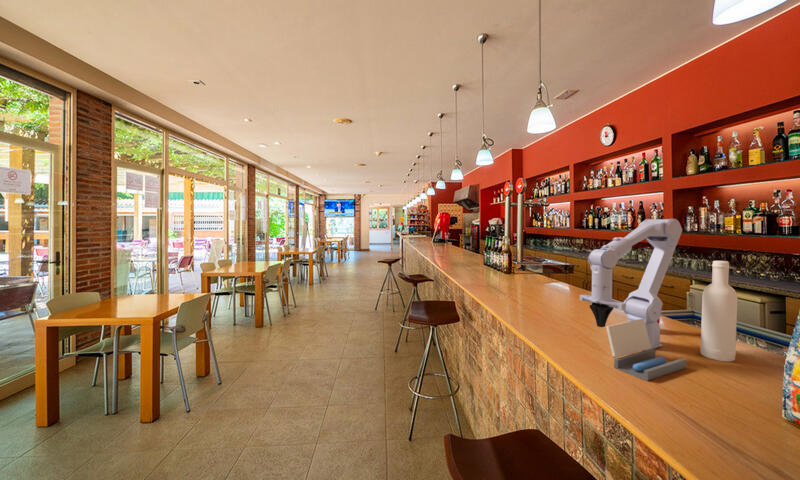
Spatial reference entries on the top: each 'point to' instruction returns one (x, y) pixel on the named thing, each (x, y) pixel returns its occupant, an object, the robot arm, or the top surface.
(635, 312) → the robot arm
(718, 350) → the bottle
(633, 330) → the panel
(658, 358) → the blue rounded capsule rod
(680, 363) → the cable duct
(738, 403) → the top surface
